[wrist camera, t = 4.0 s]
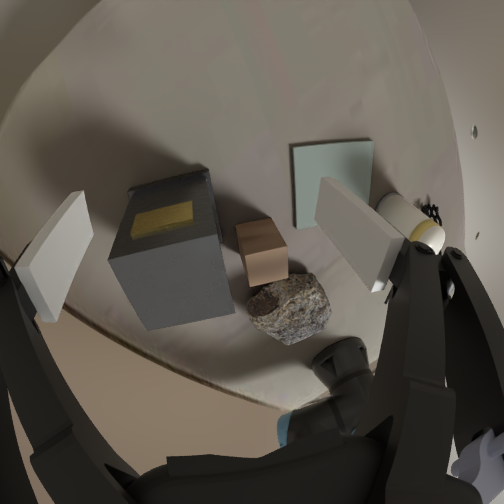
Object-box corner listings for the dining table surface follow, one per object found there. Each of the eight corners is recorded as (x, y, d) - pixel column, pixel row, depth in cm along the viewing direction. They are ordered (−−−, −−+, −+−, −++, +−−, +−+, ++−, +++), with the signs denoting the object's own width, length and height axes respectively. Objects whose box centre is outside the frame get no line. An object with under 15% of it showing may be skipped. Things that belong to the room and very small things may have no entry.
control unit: (222, 240, 37) (241, 318, 26) (153, 256, 36) (146, 337, 25) (208, 168, 31) (222, 227, 20) (129, 188, 30) (99, 256, 19)
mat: (365, 213, 40) (367, 215, 40) (295, 228, 39) (296, 229, 38) (371, 140, 33) (373, 141, 32) (292, 146, 31) (293, 147, 31)
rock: (328, 303, 51) (303, 251, 43) (343, 326, 46) (320, 276, 37) (273, 334, 52) (235, 291, 44) (282, 359, 47) (243, 319, 39)
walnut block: (273, 247, 40) (288, 277, 34) (239, 254, 39) (250, 287, 34) (270, 217, 37) (287, 246, 31) (234, 224, 36) (244, 255, 31)
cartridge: (399, 221, 43) (438, 258, 34) (372, 227, 42) (411, 268, 33) (405, 190, 39) (449, 223, 30) (377, 194, 38) (422, 231, 30)
